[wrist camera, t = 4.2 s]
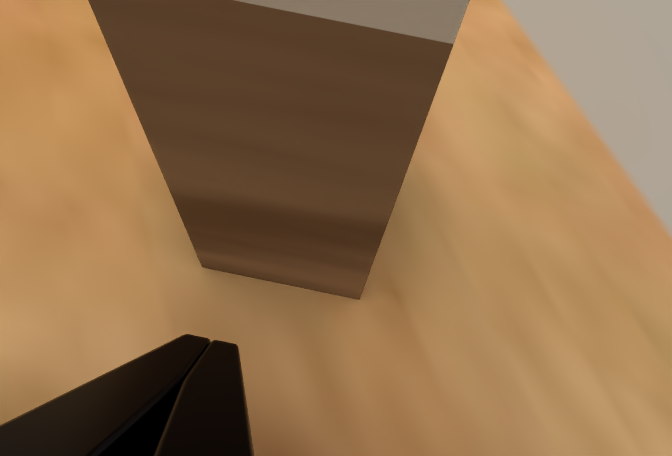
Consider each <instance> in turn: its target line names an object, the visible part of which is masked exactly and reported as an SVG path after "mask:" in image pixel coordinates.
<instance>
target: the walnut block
mask: <svg viewBox="0 0 672 456" xmlns="http://www.w3.org/2000/svg"><path fill="white" fill-rule="evenodd" d="M88 1H89V3H90V5H91V8H92V10H93V12H94V15H95V17H96V19H97V22H98V24H99V26H100V29H101V31H102V33H103V36H104V38H105V40H106V43H107V45H108V47H109V50H110V52H111V54H112V57H113V59H114V62H115V64H116V66H117V69H118V71H119V73H120V76H121V78H122V80H123V83H124V85H125V87H126V90H127V92H128V94H129V97H130V99H131V101H132V104H133V106H134V108H135V111H136V113H137V115H138V118H139V120H140V122H141V125H142V127H143V129H144V132H145V134H146V136H147V139H148V141H149V144H150V146H151V148H152V151H153V153H154V155H155V158H156V160H157V162H158V165H159V167H160V169H161V172H162V174H163V176H164V179H165V181H166V183H167V186H168V188H169V190H170V193H171V195H172V197H173V200H174V202H175V204H176V207H177V209H178V211H179V214H180V216H181V218H182V221H183V223H184V226H185V228H186V230H187V233H188V235H189V237H190V240H191V242H192V244H193V247H194V249H195V251H196V254H197V256H198V258H199V261H200V263H201V265H202V267H204V268H209V269H214V270H219V271H224V272H228V273H233V274H238V275H243V276H248V277H253V278H257V279H262V280H267V281H272V282H277V283H282V284H286V285H291V286H296V287H301V288H306V289H311V290H315V291H320V292H325V293H330V294H335V295H340V296H344V297H349V298H354V299H360V296H361V294H362V291H363V288H364V286H365V283H366V280H367V277H368V275H369V272H370V269H371V267H372V264H373V261H374V258H375V256H376V253H377V250H378V248H379V245H380V242H381V239H382V237H383V234H384V231H385V229H386V226H387V223H388V221H389V218H390V215H391V212H392V210H393V207H394V204H395V202H396V199H397V196H398V193H399V191H400V188H401V185H402V183H403V180H404V177H405V174H406V172H407V169H408V166H409V164H410V161H411V158H412V155H413V153H414V150H415V147H416V145H417V142H418V139H419V136H420V134H421V131H422V128H423V126H424V123H425V120H426V117H427V115H428V112H429V109H430V107H431V104H432V101H433V99H434V96H435V93H436V90H437V88H438V85H439V82H440V80H441V77H442V74H443V71H444V69H445V66H446V63H447V61H448V58H449V55H450V52H451V50H452V47H453V44H454V42H455V39H456V36H457V33H458V31H459V28H460V25H461V23H462V20H463V17H464V14H465V12H466V9H467V6H468V4H469V1H470V0H88Z"/></svg>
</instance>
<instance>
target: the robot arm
mask: <svg viewBox="0 0 672 456" xmlns="http://www.w3.org/2000/svg"><path fill="white" fill-rule="evenodd" d="M0 456H254V451H253V444H252V437H251V431H250V424H249V417H248V410H247V403H246V396H245V389H244V383H243V376H242V369H241V362H240V355H239V349H238V346H237V345H236V344H233V343H228V342H223V341H218V340H214V341H212V342H211V341H210V340H209V339H208V338H204V337H199V336H194V335H189V334H185V335H182V336H180V337H178V338H176V339H174V340H172V341H170V342H168V343H166V344H164V345H162V346H160V347H158V348H156V349H154V350H152V351H150V352H148V353H146V354H144V355H142V356H140V357H138V358H136V359H134V360H132V361H130V362H128V363H126V364H124V365H122V366H120V367H118V368H116V369H114V370H112V371H110V372H107V373H105V374H103V375H101V376H99V377H97V378H95V379H93V380H91V381H89V382H87V383H85V384H83V385H81V386H79V387H77V388H75V389H73V390H71V391H69V392H67V393H65V394H63V395H61V396H59V397H57V398H55V399H53V400H51V401H49V402H47V403H45V404H43V405H41V406H39V407H37V408H35V409H33V410H31V411H29V412H27V413H25V414H22V415H20V416H18V417H16V418H14V419H12V420H10V421H8V422H6V423H4V424H2V425H0Z"/></svg>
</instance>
